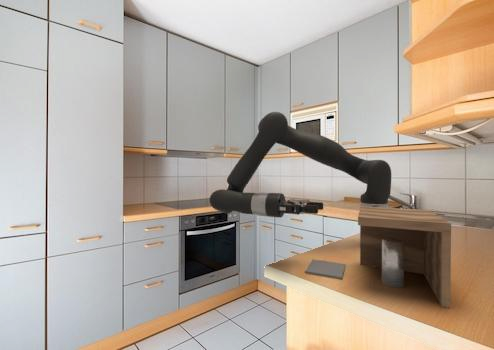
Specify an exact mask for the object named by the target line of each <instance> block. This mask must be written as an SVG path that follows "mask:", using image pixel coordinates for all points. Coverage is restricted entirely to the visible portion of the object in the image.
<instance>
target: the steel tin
mask: <svg viewBox="0 0 494 350" xmlns="http://www.w3.org/2000/svg"><path fill="white" fill-rule="evenodd" d="M404 276H405V271H404V241H402V240H398V239H392V238H384V239H382V268H381V283H382V284H384V285H385V286H389V287H392V288H403V287H404V286H405V280H404V279H405V277H404Z"/></svg>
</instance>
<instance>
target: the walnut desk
mask: <svg viewBox="0 0 494 350" xmlns="http://www.w3.org/2000/svg"><path fill="white" fill-rule="evenodd" d="M359 208H360V209H359V211H358V215H357V225H358V226H359V228H360V230H359V234H360V235H359V236H360V237H359V238H360V239H359V247H360V248H359V258H360V259H359V265H361V266H365V267H372V268H379V269H380V268H381V269H382V239H384V238H392V239H398V240H402V241H404V272H408V273H415V274H421V275H422V274H423V275H424V277H425V279H426V280H427V283H428V284H429V286H430V288H431V290H432V291H433V294H434V295H435V297H436V300H437V301H438V303H439V305H440V307H442V308H447V309H451V285H452V284H451V283H452V281H451V277H452V275H451V273H452V272H451V269H452V267H451V265H452V222H450V221H448V220H446V219H445V218H443V217H441V216H440V215H438V214H437V213H435V212H434V211H432V210H431V209H418V208H417V209H415V208H396V207H388V208H382V207H364V206H361V207H359Z"/></svg>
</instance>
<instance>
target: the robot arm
mask: <svg viewBox="0 0 494 350" xmlns="http://www.w3.org/2000/svg"><path fill="white" fill-rule="evenodd" d="M257 129H258V132H257V135H256V137H255V138H254V140H253V142H252V143H251V144H250V146H249V147H248V149H246V151H245V152H244V154H243V155H242V156H241V157H240V159H239V160H238V161H237V162H236V164H235V165H234V167H233V168H232V170H231V171H230V172H229V175H228V176H227V179H226V182H227V184H228V187H227V188H226V189H216V190H215V191H213V192H212V193H211V194H210V196H209V204H210V206H211V207H212V208H213V209H214V210H216V211H218V212H220V213H223V214H230V213H232V212H237V213H240V214H243V215H254V216H255V215H256V216H260V217H271V218H283V217H284V215H285V214H290V215H298V216H299V215H303V214H314V215H317V214H318V213H319V211H323V210H324V202H322V201H321V202H320V201H319V202H318V201H311V200H309V199H305V200H304V199H296V198H289V199H287V200H286V196H285V194H284V193H281V192H280V193H279V192H244V190H245V188H246V187H247V185H248V184H249V182H250V181H251V179H252V178H253V177H254V175H255V173H256V171H257V170H258V168H259V166H260V165H261V163H262V162H263V160H264V159H265V157H266V156H267V154H268V153H269V152H270V150H271V149H272V148H273V147H274V146H275V144H278V145H281V146H284V147H287V148H289V149H291V150H293V151H295V152H298V153H299V154H302V155H303V156H304V157H308V158H309V159H311V160H313V161H315V162H317V163H320V164H322V165H324V166H327V167H330V168H333V169H335V170H336V171H337V170H338V171H341V172H343V173H345V174H347V175H349V176H350V177H353V178H354V179H356V180H357V181H359V182H361V183H362V184H366V190H365V192H364V193H362V194H360V199H359V200H360V202H359V203H360V207H361V206H364V207H382V208H389V205H388V204H389V203H388V202H389V199H390V196H391V192H392V191H391V189H392V169H391V166H390V164H389V163H388V162H387V161H386V160H383V159H370V160H368V159H363V158H361V157H358V156H355V155H353V154H352V153H350V152H348V151H347V150H346V148H344V147H343V146H342V145H341V144H340V143H338V142H336V141H335V140H333V139H330V138H328V137H327V136H323V135H322V134H321V135H320V134H317V133H313V132H309V131H303V130H300V129H297V128H294V127H292V126H290V125H289V122H288V118H287V117H286V116H285V114H283V113H282V112H279V111H272V112H269V113H267V114H266V115H264V117H263V118H262V119H261V120H260V121H259V122H258V125H257ZM360 207H359V208H360Z"/></svg>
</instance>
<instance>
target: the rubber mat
mask: <svg viewBox="0 0 494 350" xmlns="http://www.w3.org/2000/svg"><path fill="white" fill-rule="evenodd" d="M346 264H347V263H342V262H341V263H340V262H334V261H327V260H320V259H313V258H312V259H311V261H310V262H309V264H308V266H307V267H306V268H305V270H304V274H308V275H312V276H320V277H325V278H332V279H338V280H343V277H344V273H345V270H346V266H347V265H346Z"/></svg>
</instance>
